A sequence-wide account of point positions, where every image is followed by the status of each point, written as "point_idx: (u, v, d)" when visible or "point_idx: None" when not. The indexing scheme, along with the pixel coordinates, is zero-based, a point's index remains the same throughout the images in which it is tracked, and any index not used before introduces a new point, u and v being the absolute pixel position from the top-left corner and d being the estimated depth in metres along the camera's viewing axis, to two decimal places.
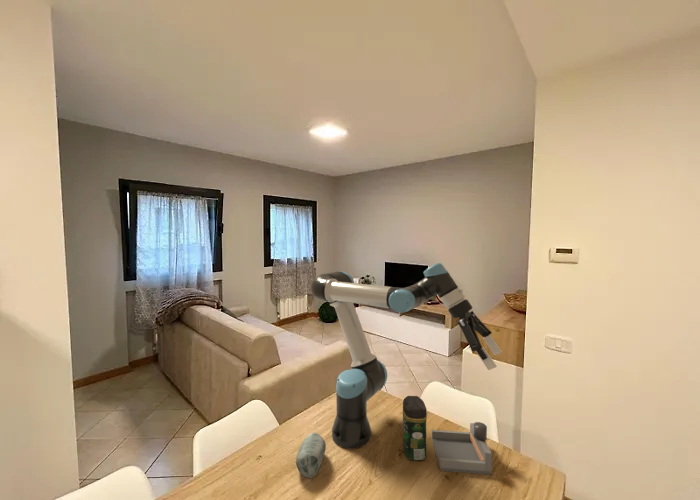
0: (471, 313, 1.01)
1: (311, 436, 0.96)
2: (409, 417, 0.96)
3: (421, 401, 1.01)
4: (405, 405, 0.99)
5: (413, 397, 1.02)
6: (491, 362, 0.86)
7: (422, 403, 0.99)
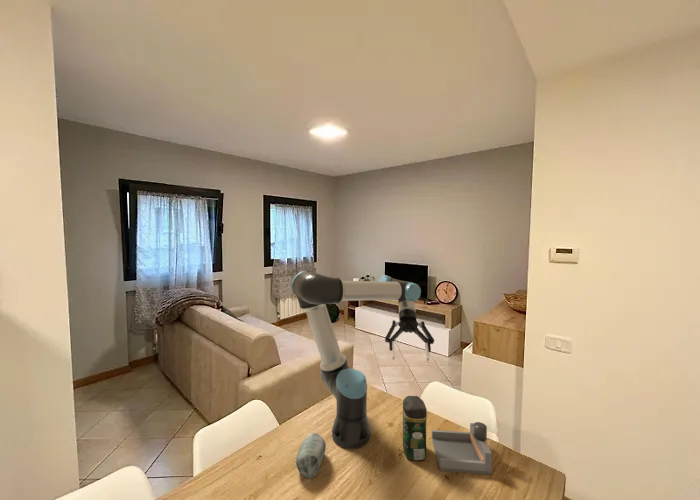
0: None
1: (311, 437, 0.96)
2: (409, 417, 0.96)
3: (421, 401, 1.01)
4: (405, 405, 0.99)
5: (413, 397, 1.02)
6: None
7: (422, 403, 0.99)
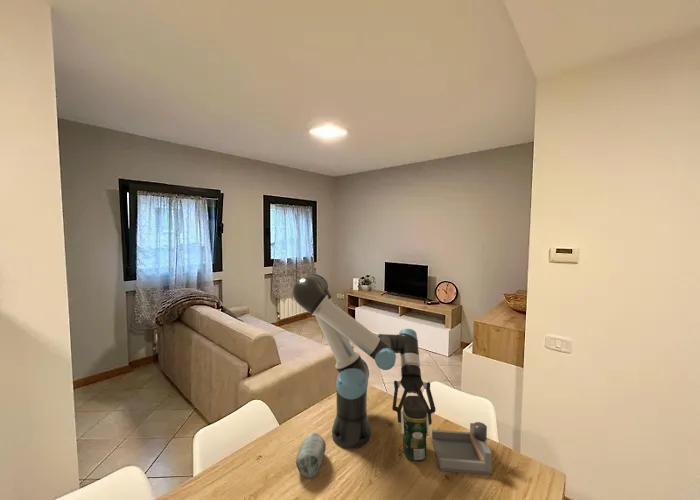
0: None
1: (311, 437, 0.96)
2: (409, 417, 0.96)
3: (421, 401, 1.00)
4: (405, 405, 0.99)
5: (413, 397, 1.02)
6: None
7: (422, 403, 0.99)
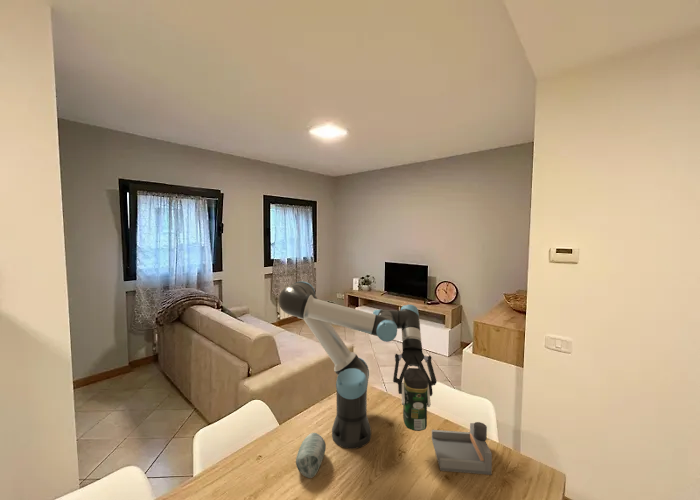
0: None
1: (311, 436, 0.96)
2: (410, 387, 0.95)
3: (422, 373, 1.00)
4: (406, 376, 0.98)
5: (414, 369, 1.02)
6: None
7: (423, 374, 0.99)
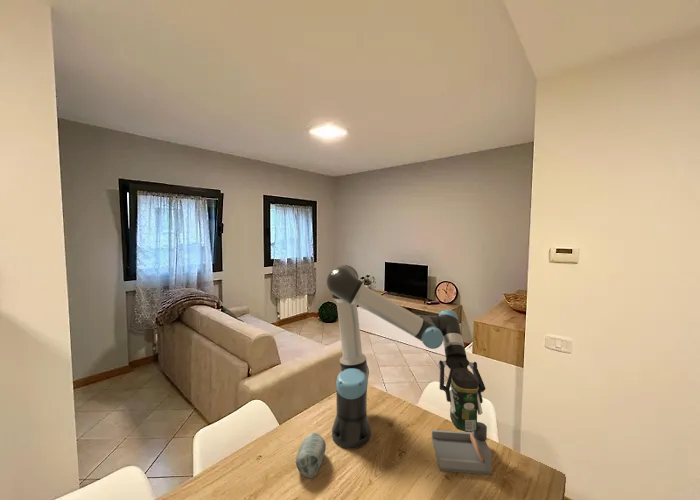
0: None
1: (311, 436, 0.96)
2: (461, 387, 0.94)
3: (471, 373, 0.99)
4: (455, 376, 0.97)
5: (462, 369, 1.00)
6: None
7: (472, 374, 0.97)
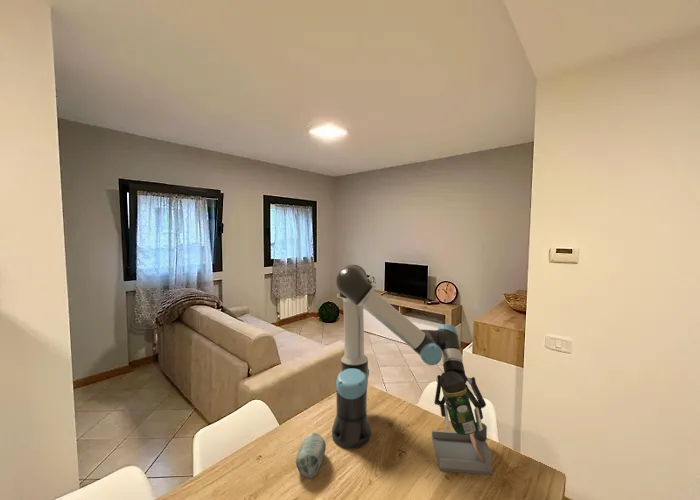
0: None
1: (311, 436, 0.96)
2: (449, 392, 0.94)
3: (457, 374, 0.99)
4: (442, 382, 0.97)
5: (448, 372, 1.01)
6: None
7: (459, 376, 0.98)
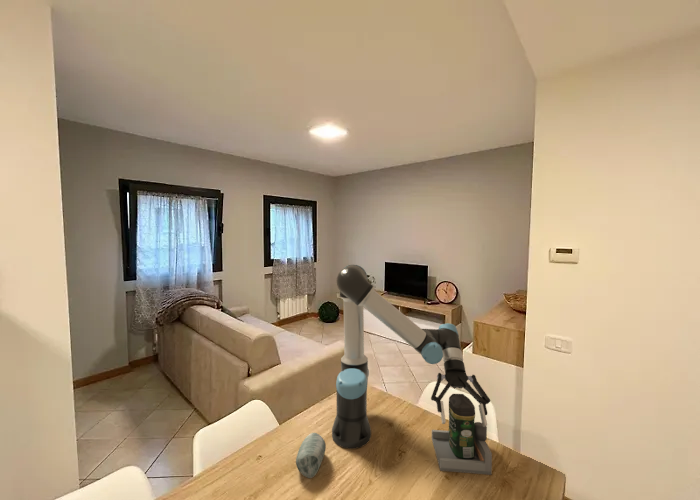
0: None
1: (311, 436, 0.96)
2: (457, 415, 0.95)
3: (468, 399, 1.00)
4: (452, 403, 0.98)
5: (459, 395, 1.01)
6: None
7: (469, 401, 0.99)
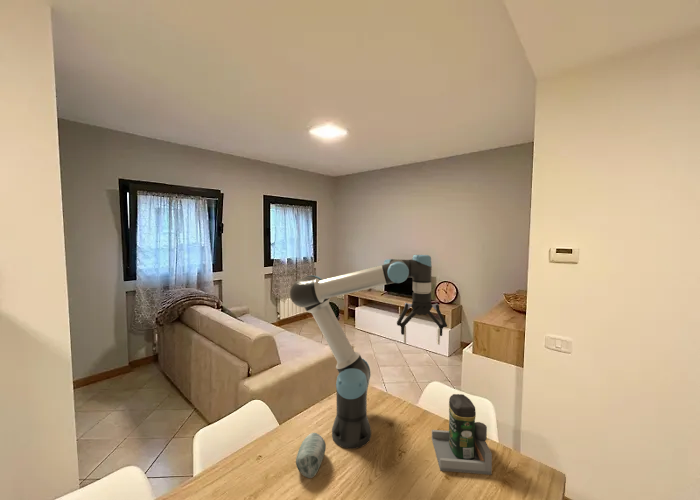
0: None
1: (311, 436, 0.96)
2: (458, 415, 0.95)
3: (468, 399, 1.00)
4: (453, 403, 0.98)
5: (459, 395, 1.01)
6: None
7: (470, 401, 0.99)
